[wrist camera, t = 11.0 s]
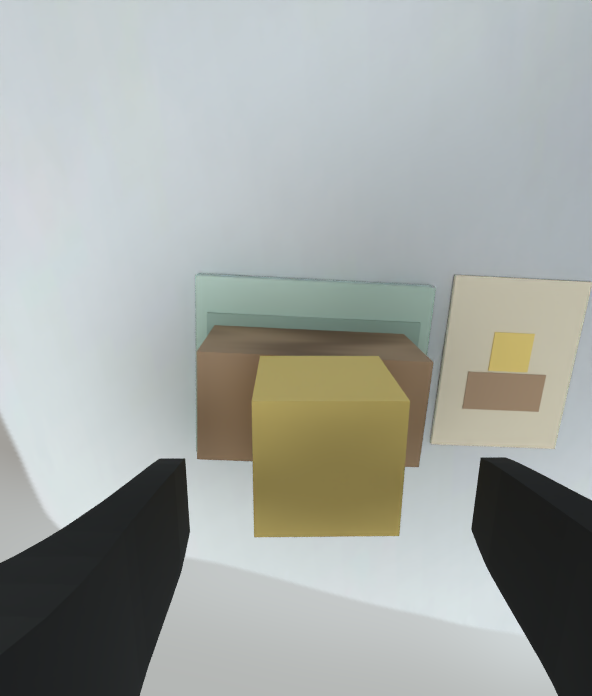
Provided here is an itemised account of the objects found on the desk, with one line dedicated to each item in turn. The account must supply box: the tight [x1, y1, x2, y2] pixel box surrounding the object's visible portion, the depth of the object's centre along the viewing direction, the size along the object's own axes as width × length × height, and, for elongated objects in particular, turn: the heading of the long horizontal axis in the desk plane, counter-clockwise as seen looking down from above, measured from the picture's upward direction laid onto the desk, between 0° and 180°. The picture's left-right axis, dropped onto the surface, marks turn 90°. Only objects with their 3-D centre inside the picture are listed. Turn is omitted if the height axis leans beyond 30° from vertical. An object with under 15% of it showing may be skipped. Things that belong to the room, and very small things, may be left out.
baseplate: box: [195, 273, 436, 451], centre depth 20 cm, size 10×8×1 cm
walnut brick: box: [197, 325, 433, 467], centre depth 18 cm, size 8×4×4 cm, turn 87°
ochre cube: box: [252, 356, 410, 537], centre depth 14 cm, size 4×4×4 cm
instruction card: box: [430, 275, 592, 449], centre depth 21 cm, size 6×8×1 cm
